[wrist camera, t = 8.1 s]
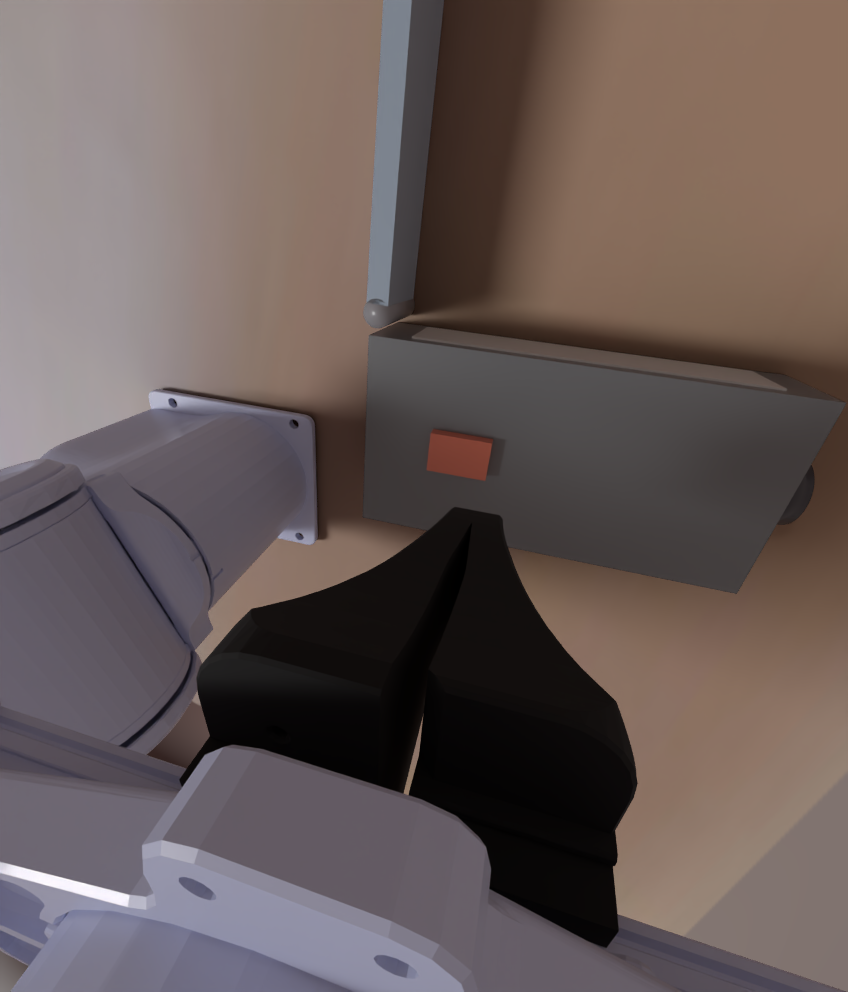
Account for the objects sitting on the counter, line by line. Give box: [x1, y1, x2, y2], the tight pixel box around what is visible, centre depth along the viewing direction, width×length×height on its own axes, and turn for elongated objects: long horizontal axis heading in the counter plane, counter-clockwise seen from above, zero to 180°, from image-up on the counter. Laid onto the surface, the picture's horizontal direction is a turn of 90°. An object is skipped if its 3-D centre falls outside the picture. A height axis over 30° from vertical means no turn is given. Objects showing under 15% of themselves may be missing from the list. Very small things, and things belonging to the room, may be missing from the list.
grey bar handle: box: [363, 0, 444, 328], centre depth 14 cm, size 17×2×4 cm, turn 173°
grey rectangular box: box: [363, 322, 846, 594], centre depth 19 cm, size 17×8×4 cm, turn 84°
